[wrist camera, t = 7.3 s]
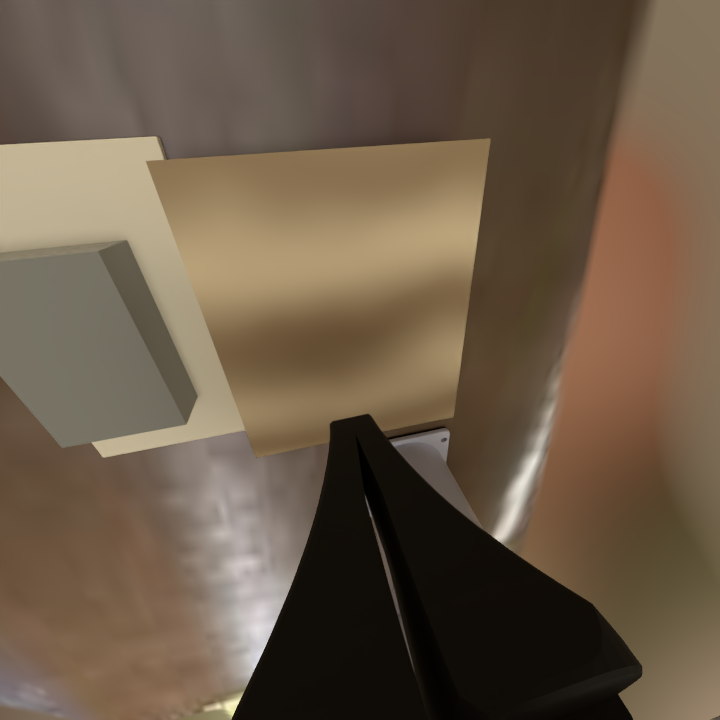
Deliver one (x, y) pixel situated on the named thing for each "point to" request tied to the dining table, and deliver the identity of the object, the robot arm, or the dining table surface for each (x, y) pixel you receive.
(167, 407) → the slate tile
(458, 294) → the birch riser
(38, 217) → the placemat
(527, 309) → the dining table surface
